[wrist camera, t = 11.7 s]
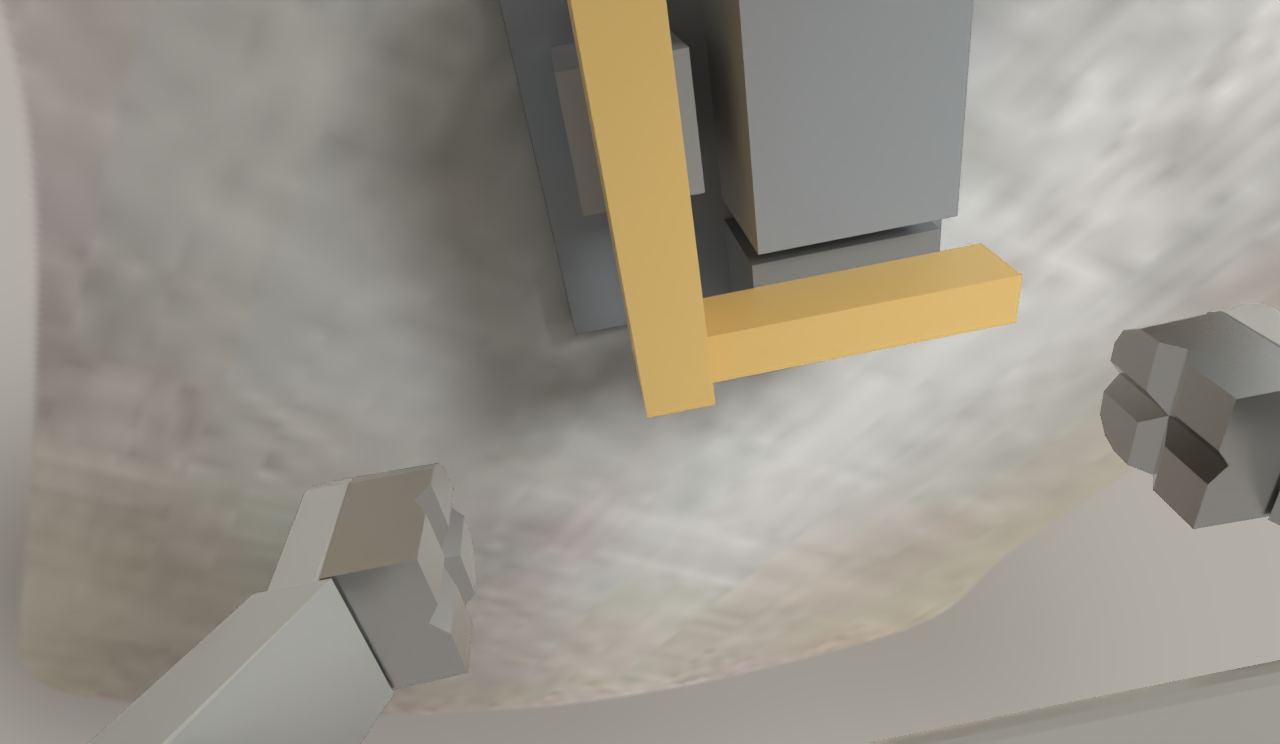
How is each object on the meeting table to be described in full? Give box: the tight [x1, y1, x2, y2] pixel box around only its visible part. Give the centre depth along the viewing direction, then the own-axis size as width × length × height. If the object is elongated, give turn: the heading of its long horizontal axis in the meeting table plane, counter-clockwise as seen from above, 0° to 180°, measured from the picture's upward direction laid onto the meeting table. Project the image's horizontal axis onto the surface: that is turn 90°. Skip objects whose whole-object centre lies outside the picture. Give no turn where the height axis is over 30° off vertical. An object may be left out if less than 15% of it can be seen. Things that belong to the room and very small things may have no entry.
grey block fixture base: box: [499, 0, 973, 335], centre depth 23 cm, size 14×16×6 cm
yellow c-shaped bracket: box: [567, 0, 1022, 418], centre depth 20 cm, size 12×14×4 cm
